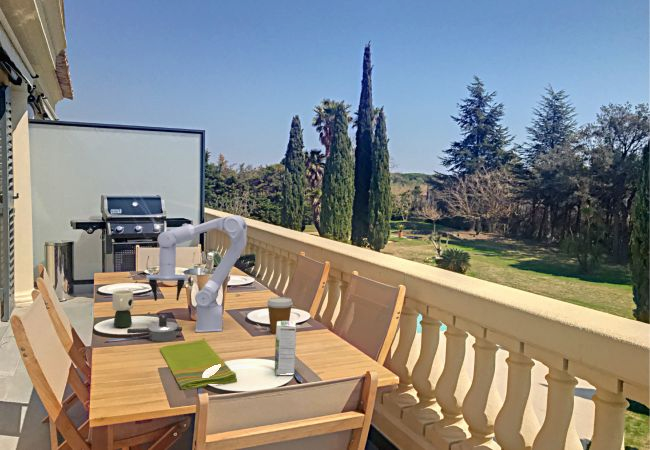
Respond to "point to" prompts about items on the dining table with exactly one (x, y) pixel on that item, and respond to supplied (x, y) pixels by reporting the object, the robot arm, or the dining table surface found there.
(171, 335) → the cooker base
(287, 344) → the syrup box
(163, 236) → the robot arm
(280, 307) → the disposable coffee cup
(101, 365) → the dining table surface
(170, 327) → the lid
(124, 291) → the character mug
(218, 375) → the dish towel
